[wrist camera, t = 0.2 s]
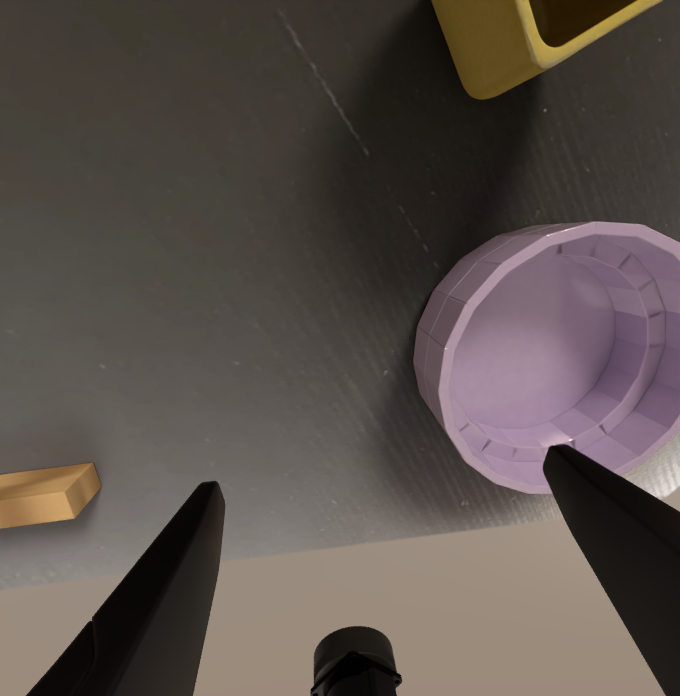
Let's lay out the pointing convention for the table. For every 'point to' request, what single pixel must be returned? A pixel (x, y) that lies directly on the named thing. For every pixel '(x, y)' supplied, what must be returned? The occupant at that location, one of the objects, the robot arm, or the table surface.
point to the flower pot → (523, 36)
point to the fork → (46, 494)
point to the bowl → (555, 349)
